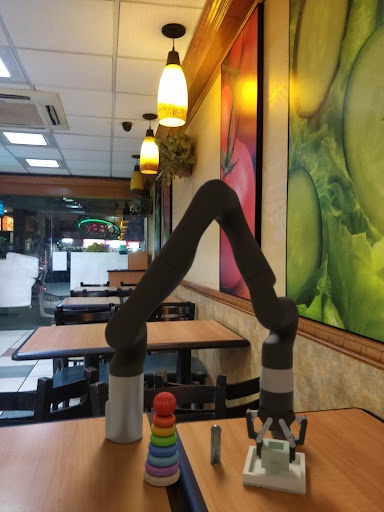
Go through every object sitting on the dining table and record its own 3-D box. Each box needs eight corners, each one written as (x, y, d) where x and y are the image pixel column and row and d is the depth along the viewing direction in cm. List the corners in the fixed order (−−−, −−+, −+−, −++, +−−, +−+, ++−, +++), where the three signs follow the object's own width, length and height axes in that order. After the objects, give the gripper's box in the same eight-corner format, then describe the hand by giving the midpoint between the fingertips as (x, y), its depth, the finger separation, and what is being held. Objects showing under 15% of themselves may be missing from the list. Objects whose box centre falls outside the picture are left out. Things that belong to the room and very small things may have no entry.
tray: (242, 484, 86) (242, 473, 86) (249, 455, 98) (249, 445, 98) (305, 495, 82) (305, 483, 82) (304, 463, 95) (304, 453, 95)
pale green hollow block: (263, 454, 94) (263, 437, 94) (289, 458, 92) (289, 441, 92) (260, 470, 87) (260, 452, 87) (288, 475, 85) (289, 456, 85)
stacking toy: (165, 492, 82) (167, 402, 82) (136, 480, 86) (137, 394, 86) (186, 475, 89) (188, 391, 89) (158, 464, 93) (159, 384, 93)
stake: (208, 463, 94) (209, 426, 94) (211, 458, 96) (211, 422, 96) (219, 465, 93) (220, 428, 93) (221, 459, 96) (222, 423, 96)
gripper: (309, 383, 92) (308, 456, 92) (247, 377, 96) (245, 447, 96) (310, 394, 85) (309, 473, 85) (242, 387, 88) (241, 463, 88)
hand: (275, 459), depth 90 cm, fingers closed on pale green hollow block, 6 cm apart
